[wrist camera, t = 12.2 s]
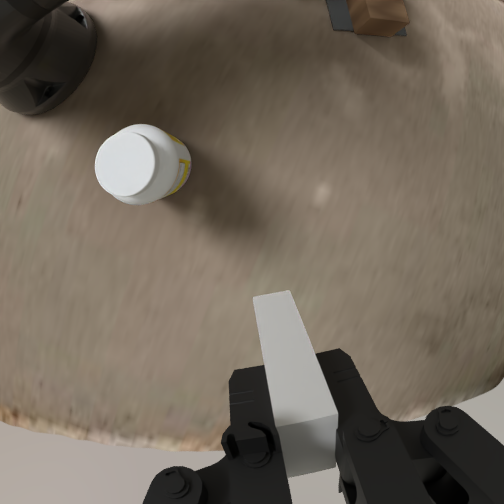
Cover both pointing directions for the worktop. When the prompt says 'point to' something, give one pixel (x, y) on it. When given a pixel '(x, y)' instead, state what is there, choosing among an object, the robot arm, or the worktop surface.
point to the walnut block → (377, 16)
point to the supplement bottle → (142, 164)
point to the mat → (345, 16)
